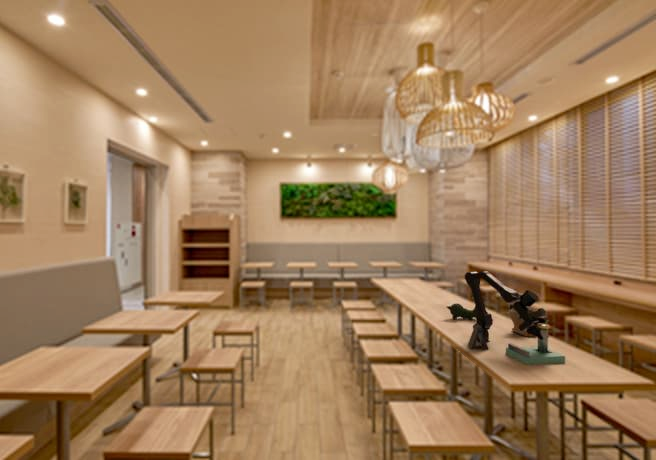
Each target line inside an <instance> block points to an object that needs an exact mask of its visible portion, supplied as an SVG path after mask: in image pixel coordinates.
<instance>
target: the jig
mask: <svg viewBox="0 0 656 460" xmlns="http://www.w3.org/2000/svg"><path fill="white" fill-rule="evenodd" d="M507 345H508V346H507V347H505V354H506V355H508V356H509V357H512V358H513V359H515V360H517V361H520V363H523V364H524V365H541V364H559V363H560V364H561V363H566V356H565V355H563V354H562V353H559V352H556V351H555V350H553V349H550V348H548V352H547V353H542V352H539V351H538V345H536V346H535V345H534V346H518V345H515V344H513V343H507Z"/></svg>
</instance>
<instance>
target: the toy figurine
mask: <svg viewBox="0 0 656 460" xmlns="http://www.w3.org/2000/svg"><path fill="white" fill-rule="evenodd" d="M469 298H473V295H472V294H471V295H470V296H469ZM445 308H447V309H448V310H449V312H450V314H451V315H452V317H451V318H452V319H453V320H457V319H458V318H461V319H463V320H464V321H465V320H467V319H468V320H469V321H472V320H473V318H475V319H476V316H477V310H476V306H475V305H474V308H473V309H471V310H470V309H468V308H465V307H464V306H463V305H462V304H460V303H453V304H452V305H449V306H446V307H445Z"/></svg>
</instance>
